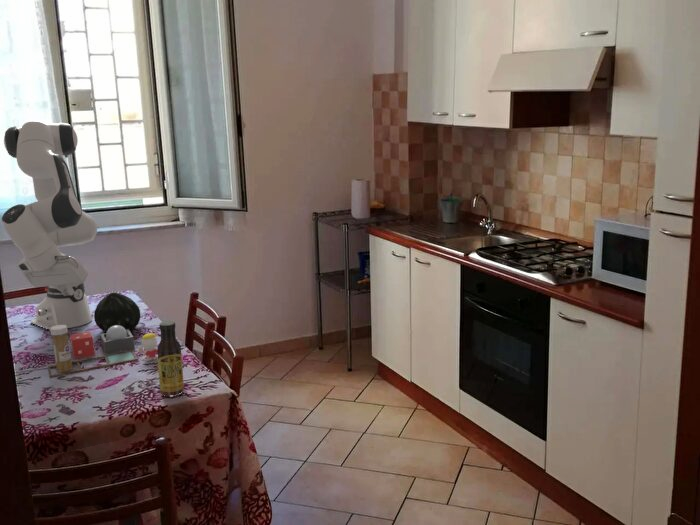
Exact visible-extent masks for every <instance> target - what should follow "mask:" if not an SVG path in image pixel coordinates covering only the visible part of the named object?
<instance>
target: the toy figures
mask: <svg viewBox="0 0 700 525" xmlns="http://www.w3.org/2000/svg"><path fill="white" fill-rule="evenodd" d="M156 335H157V334H156V333H150V332H149V333H146V334H144V335H142V336H141V339H142V340H141V345H138V346H137V349H138V351H139V353H141V354H142V356H143V357H142V358H141V361H144V362H149V361H151V360H156V359H157V360H158V350H157V348H158V347H157V345H158V340H157V338H156Z"/></svg>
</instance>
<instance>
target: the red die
mask: <svg viewBox="0 0 700 525" xmlns="http://www.w3.org/2000/svg"><path fill="white" fill-rule="evenodd" d="M69 337H70V345H71V350H72V351H71V352H72V355H73V358H74V359H80V358H85V357H92V356H96V353H95V351H96V350H95V345H94V338H93V335H92V333H91V331H84V332H80V333H78V332H77V333H73V334H70V335H69Z"/></svg>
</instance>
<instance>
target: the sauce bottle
mask: <svg viewBox="0 0 700 525" xmlns="http://www.w3.org/2000/svg"><path fill="white" fill-rule="evenodd" d="M158 328H159V330H160V341H159V344H158V346H157V347H156V348H157V350H158V354H157V367H158V368H157V369H158V380H159V381H158V382H159V390H160V395H161V394H162V395H165V396H170V395H176V394H179V393H181V392H182V391H183V392H184V388H185V385H184V369H183V367H184V366H183V356H182V348H181V346H182V345H181V343H180V341H179V340H178V339H177V338H176V337H177V336H176V335H177V334H176V322H175V321H174V320H165V321H162V322H160V323H159V327H158ZM162 395H161V396H162Z"/></svg>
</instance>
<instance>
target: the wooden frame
mask: <svg viewBox="0 0 700 525" xmlns="http://www.w3.org/2000/svg"><path fill="white" fill-rule="evenodd" d="M99 359H105V361H106V363H103V364H100V365H99V364H98V365H95V366H91V367H85V368H82V366H81V363H84V362H89V361H95V360H99ZM135 361H136V362H137V361H139V357H138V355H137V354H136V353H135V351H134V349H130V350H125V351H120V352H115V353H110V354H104V355H99V356H93V357H89V358H84V359H79V360H74V361H71V362H72V365H73V364H74V365H75V364H76V366H77V369H76V370H69V371H66V372H58V373H54V374H53V373H52V369H53V368H57V366H56V364H52V365H47V370H48V371H47V372H48V376H49V378H50V379H51V378H56V377H61V376H65V375H67V376H68V375H70V374H75V373H76V374H77V373H81V372H85V371H86V372H87V371H90V370H95V369H96V370H97V369H100V368H105V367H111V366H115V365H120V364H126V363H130V362H135Z"/></svg>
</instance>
